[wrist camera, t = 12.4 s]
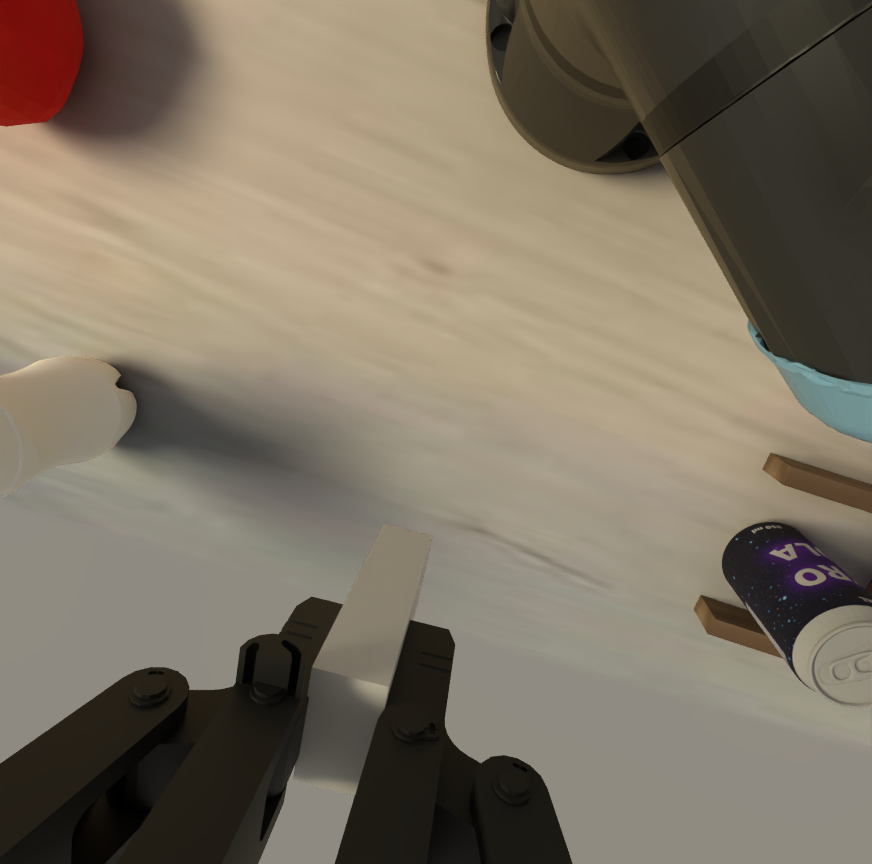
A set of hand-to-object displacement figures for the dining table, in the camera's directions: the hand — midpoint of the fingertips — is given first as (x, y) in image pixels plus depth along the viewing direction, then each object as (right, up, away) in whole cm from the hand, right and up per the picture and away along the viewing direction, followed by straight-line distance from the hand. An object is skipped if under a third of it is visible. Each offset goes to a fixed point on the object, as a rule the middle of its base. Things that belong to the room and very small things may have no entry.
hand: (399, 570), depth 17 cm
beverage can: (+24, -4, +23) cm, 33 cm away
